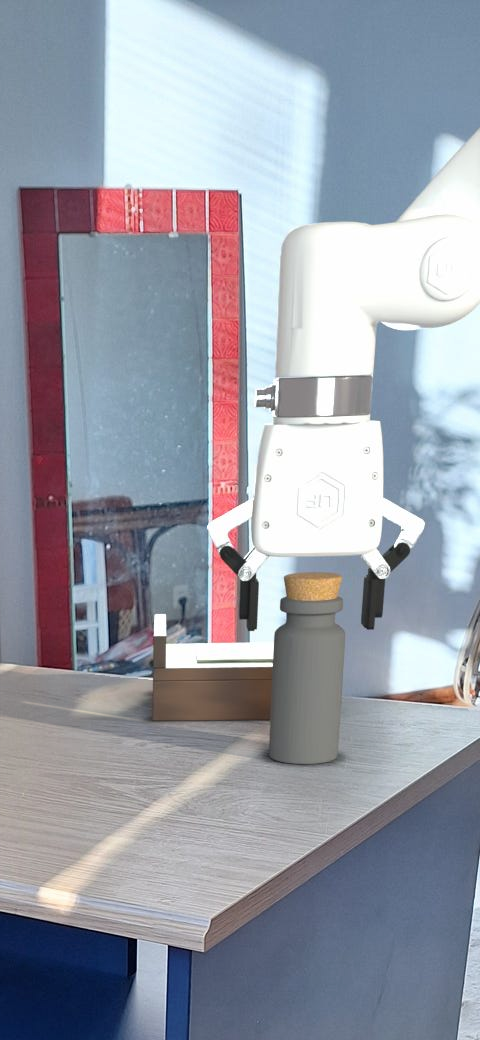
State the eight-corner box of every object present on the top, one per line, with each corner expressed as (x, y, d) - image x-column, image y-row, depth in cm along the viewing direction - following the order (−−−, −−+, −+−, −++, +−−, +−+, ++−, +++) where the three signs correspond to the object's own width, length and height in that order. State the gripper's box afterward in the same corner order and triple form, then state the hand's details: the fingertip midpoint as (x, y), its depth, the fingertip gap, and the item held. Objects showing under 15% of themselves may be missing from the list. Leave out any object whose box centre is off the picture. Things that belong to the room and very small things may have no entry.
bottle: (351, 759, 125) (363, 576, 119) (291, 767, 123) (301, 581, 117) (313, 746, 130) (323, 569, 124) (255, 753, 128) (263, 574, 122)
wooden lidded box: (308, 690, 152) (312, 611, 149) (321, 719, 140) (326, 633, 136) (153, 692, 154) (154, 614, 151) (152, 721, 141) (153, 636, 138)
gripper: (212, 407, 112) (205, 636, 119) (443, 400, 111) (423, 634, 118) (209, 405, 119) (203, 622, 126) (427, 399, 117) (408, 619, 124)
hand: (309, 627), depth 122 cm, fingers open, 9 cm apart
